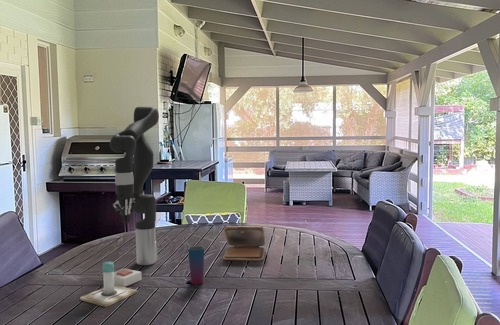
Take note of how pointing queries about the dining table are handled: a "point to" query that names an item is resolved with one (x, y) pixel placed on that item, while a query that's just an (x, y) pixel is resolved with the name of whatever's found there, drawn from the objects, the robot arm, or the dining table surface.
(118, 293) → the paper board
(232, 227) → the case
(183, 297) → the dining table surface
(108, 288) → the marker
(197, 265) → the cup
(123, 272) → the button
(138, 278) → the button housing
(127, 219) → the robot arm
